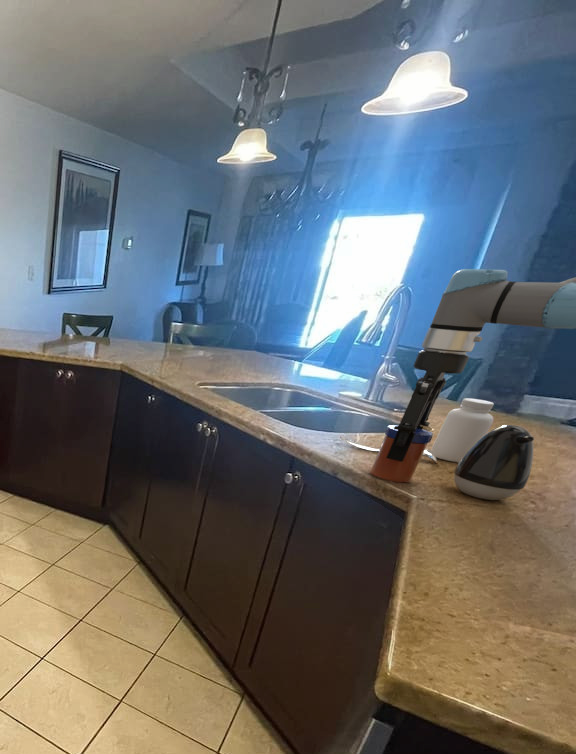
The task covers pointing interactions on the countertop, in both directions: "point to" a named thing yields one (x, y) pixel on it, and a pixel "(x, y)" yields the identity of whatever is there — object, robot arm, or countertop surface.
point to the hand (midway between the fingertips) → (398, 455)
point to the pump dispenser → (496, 464)
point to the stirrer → (425, 453)
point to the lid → (419, 436)
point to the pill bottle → (463, 429)
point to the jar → (397, 462)
